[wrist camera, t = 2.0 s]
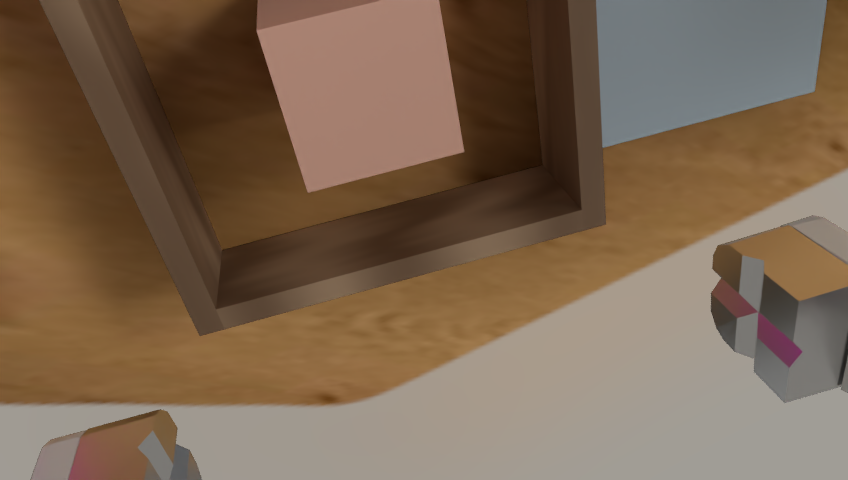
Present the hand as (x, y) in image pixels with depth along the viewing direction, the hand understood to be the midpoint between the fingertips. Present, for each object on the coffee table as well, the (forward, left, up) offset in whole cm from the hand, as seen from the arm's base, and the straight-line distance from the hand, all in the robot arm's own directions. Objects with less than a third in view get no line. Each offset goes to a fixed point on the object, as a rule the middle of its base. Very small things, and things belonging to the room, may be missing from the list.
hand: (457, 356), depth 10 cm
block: (0, 0, -20) cm, 20 cm away
